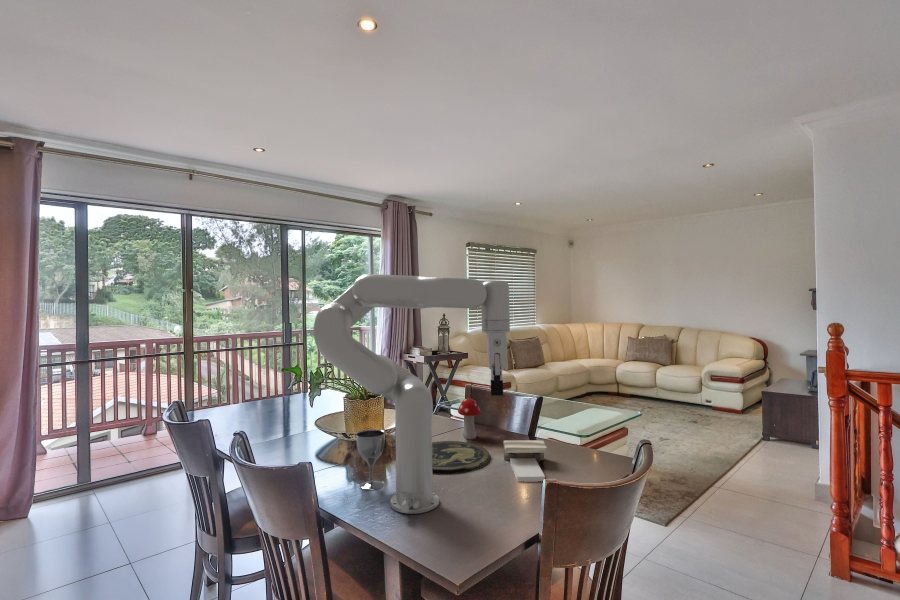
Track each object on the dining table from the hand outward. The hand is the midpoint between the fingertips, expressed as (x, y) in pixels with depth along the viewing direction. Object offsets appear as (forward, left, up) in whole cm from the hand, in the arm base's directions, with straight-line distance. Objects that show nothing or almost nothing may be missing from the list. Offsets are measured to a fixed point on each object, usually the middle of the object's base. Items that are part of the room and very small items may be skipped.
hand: (496, 394), depth 125 cm
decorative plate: (+31, +16, -28) cm, 44 cm away
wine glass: (+7, +36, -27) cm, 46 cm away
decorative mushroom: (+55, +8, -27) cm, 62 cm away
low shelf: (+26, -10, -27) cm, 39 cm away
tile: (+18, -10, -28) cm, 34 cm away
